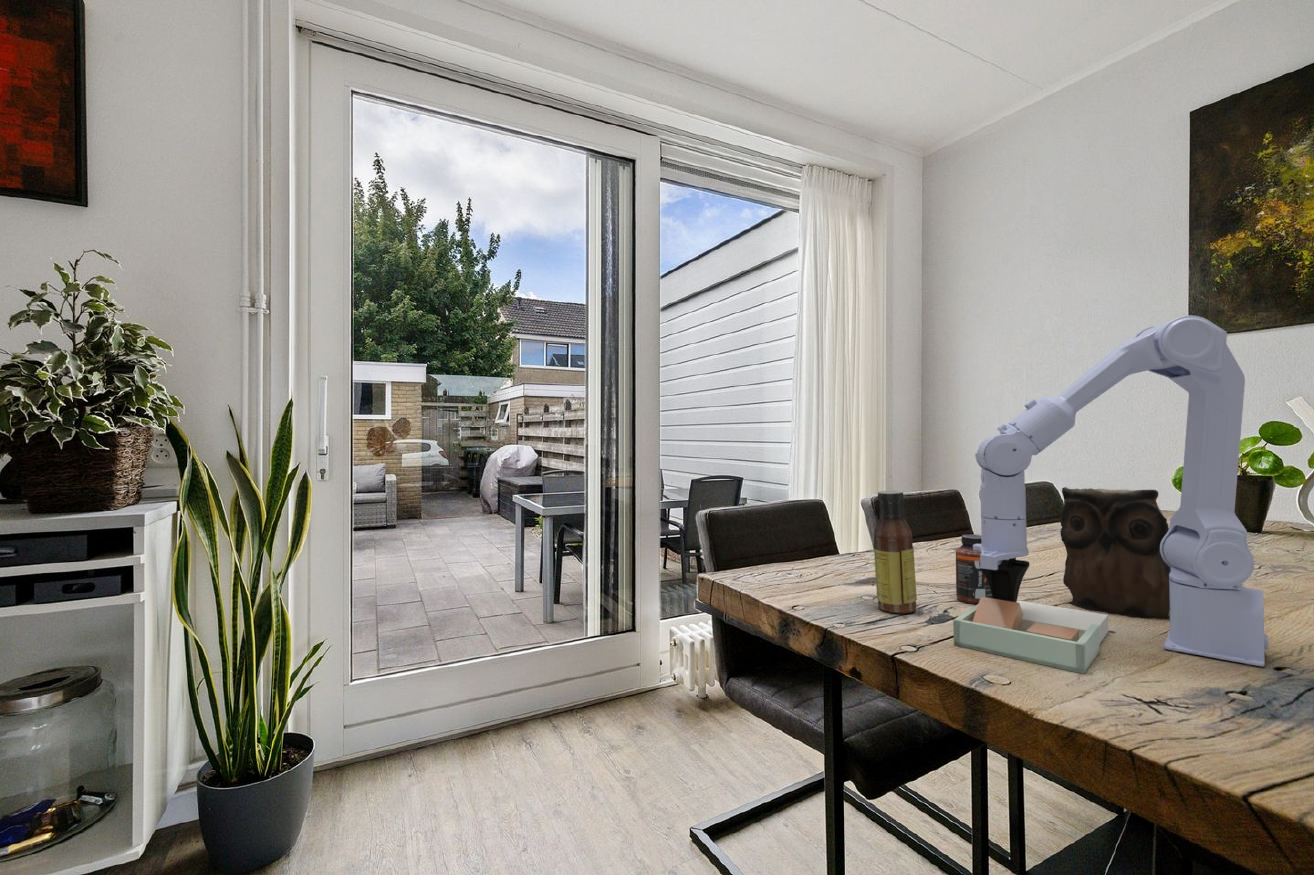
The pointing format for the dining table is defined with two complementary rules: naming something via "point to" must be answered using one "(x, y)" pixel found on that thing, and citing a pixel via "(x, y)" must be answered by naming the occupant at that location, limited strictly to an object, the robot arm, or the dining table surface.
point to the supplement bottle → (970, 572)
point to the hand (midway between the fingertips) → (1005, 610)
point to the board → (1062, 618)
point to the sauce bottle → (894, 556)
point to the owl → (1115, 552)
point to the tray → (1027, 644)
